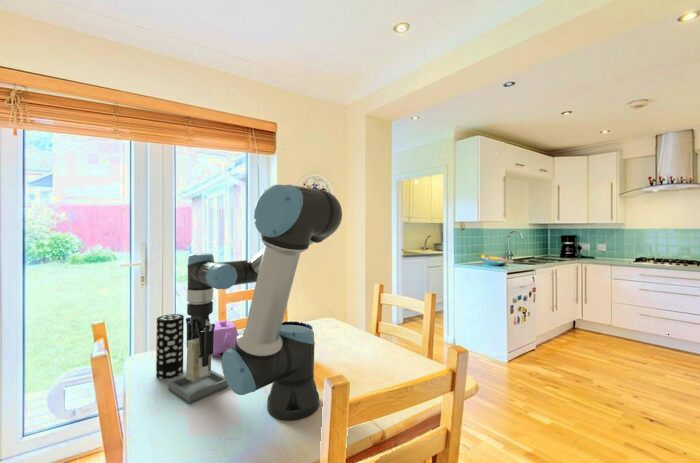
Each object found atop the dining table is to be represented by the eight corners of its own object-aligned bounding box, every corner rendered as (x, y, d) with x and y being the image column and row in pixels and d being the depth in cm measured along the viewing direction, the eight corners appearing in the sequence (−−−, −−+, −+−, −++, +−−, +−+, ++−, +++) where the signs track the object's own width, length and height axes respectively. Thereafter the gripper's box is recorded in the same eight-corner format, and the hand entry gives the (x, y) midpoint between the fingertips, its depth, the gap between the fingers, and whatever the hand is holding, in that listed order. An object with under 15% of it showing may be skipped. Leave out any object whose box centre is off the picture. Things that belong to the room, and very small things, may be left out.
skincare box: (193, 382, 100) (194, 343, 99) (185, 379, 102) (186, 340, 102) (211, 375, 105) (212, 338, 105) (204, 371, 107) (204, 335, 107)
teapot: (202, 346, 139) (203, 317, 139) (232, 341, 146) (232, 313, 146) (211, 363, 122) (211, 330, 122) (244, 356, 129) (244, 325, 129)
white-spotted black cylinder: (171, 380, 108) (171, 321, 108) (150, 377, 110) (150, 319, 110) (188, 369, 117) (188, 315, 116) (168, 367, 118) (169, 313, 118)
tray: (228, 386, 105) (228, 379, 105) (189, 404, 94) (189, 395, 94) (207, 375, 113) (207, 368, 112) (168, 390, 102) (168, 382, 102)
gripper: (226, 303, 101) (225, 377, 101) (197, 295, 111) (196, 362, 112) (203, 308, 95) (202, 386, 95) (175, 299, 105) (174, 369, 106)
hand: (199, 373), depth 103 cm, fingers closed on skincare box, 4 cm apart
